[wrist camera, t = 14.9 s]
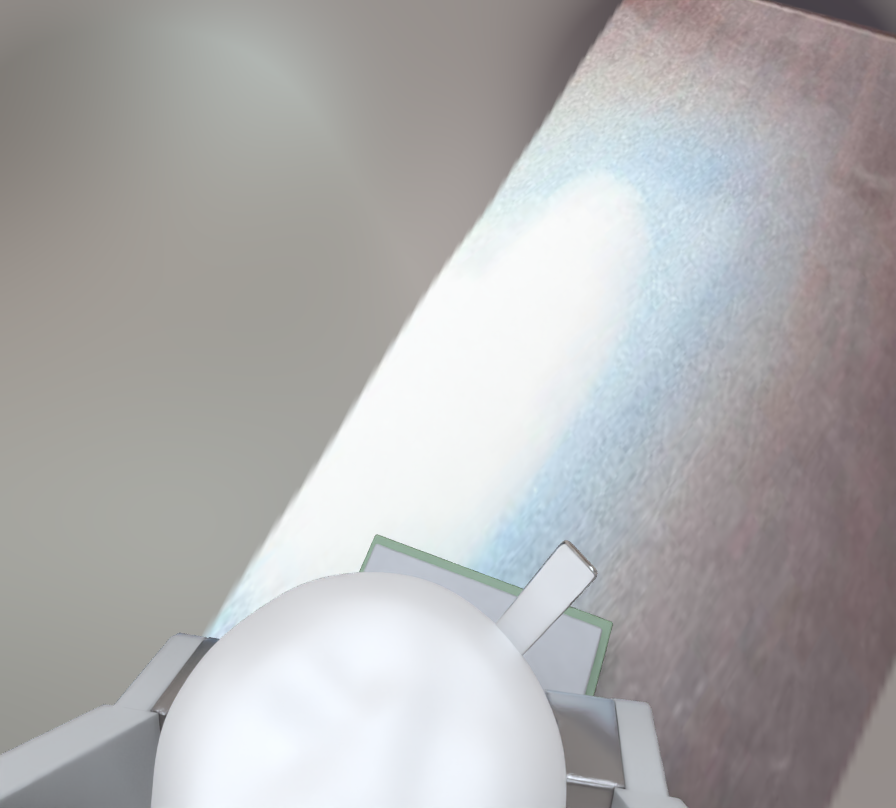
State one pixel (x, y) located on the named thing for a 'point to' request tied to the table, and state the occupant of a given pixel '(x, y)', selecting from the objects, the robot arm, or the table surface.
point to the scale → (551, 657)
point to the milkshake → (373, 700)
